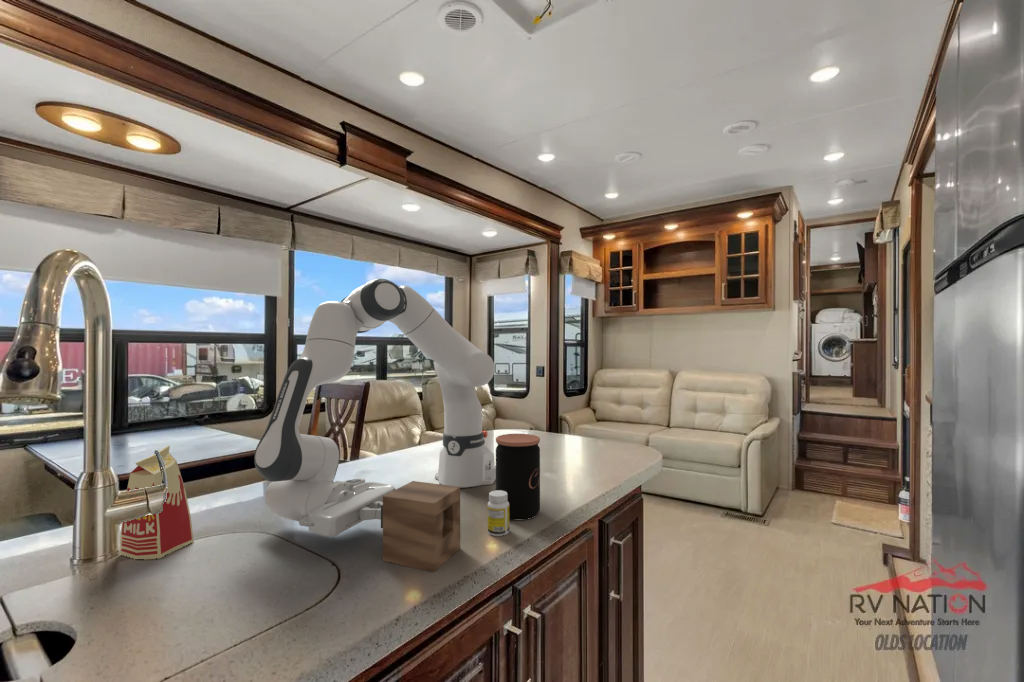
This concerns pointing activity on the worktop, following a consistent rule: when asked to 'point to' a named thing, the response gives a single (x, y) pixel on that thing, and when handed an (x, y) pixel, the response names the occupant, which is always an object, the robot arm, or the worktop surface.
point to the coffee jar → (519, 473)
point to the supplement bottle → (498, 513)
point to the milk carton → (167, 527)
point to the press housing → (421, 525)
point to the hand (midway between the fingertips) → (387, 512)
